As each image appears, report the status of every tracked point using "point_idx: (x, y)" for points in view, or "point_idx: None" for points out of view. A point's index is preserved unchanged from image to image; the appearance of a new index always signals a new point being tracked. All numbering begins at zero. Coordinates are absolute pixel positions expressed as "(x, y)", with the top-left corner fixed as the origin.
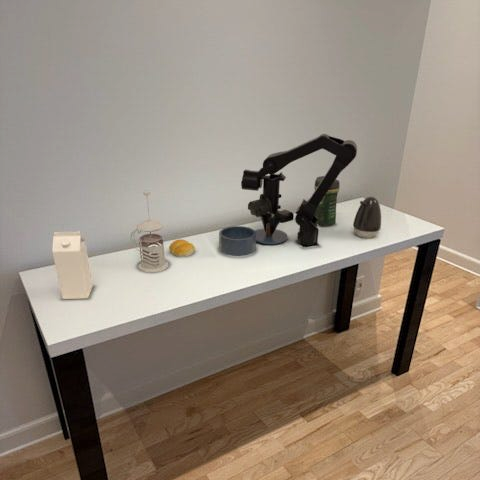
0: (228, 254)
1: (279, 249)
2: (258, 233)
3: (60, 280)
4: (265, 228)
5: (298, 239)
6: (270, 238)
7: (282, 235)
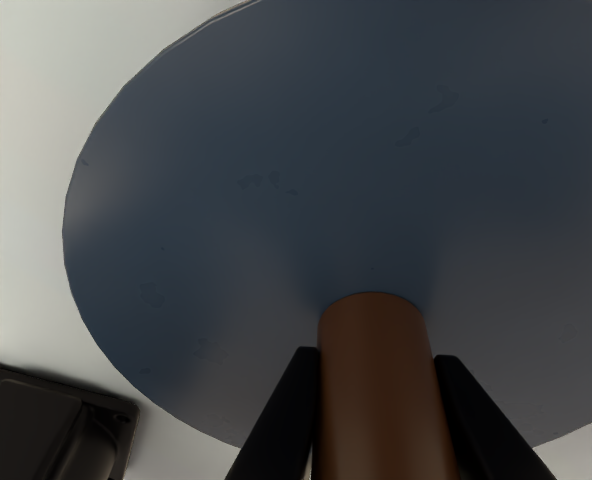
0: None
1: (9, 170)
2: (573, 272)
3: None
4: (459, 416)
5: (19, 434)
6: (256, 271)
7: (246, 414)
